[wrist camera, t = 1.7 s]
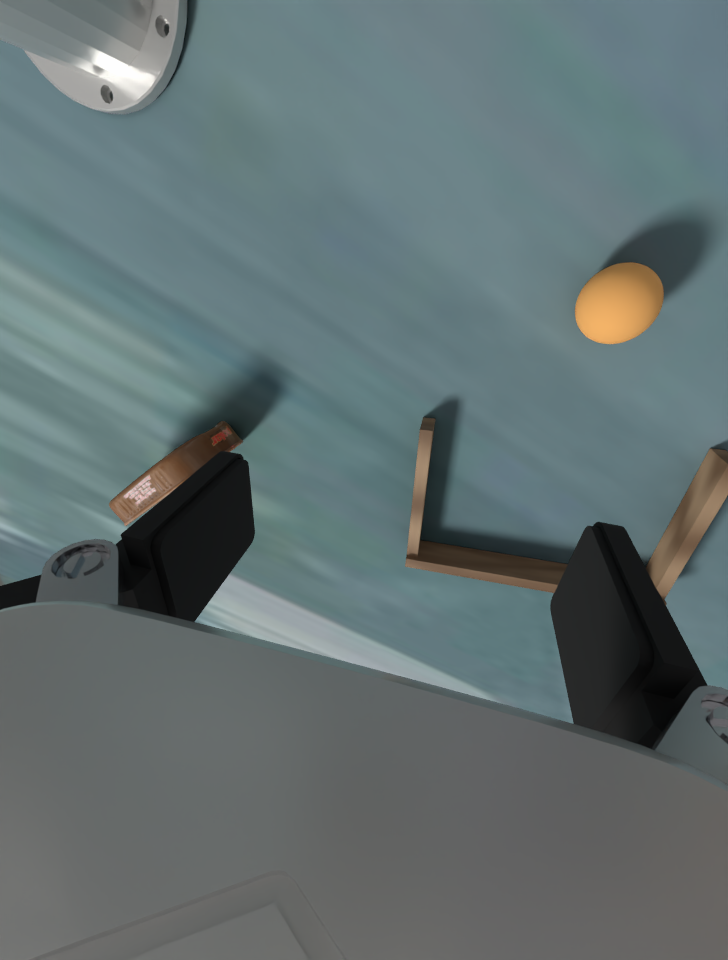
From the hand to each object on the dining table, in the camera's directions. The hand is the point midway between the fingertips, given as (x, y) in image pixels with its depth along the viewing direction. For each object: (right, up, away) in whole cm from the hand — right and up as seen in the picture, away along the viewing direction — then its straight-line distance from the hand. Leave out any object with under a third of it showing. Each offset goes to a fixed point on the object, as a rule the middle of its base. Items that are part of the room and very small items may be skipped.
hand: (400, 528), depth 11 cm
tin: (-18, +4, +29) cm, 35 cm away
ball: (+14, +12, +13) cm, 23 cm away
